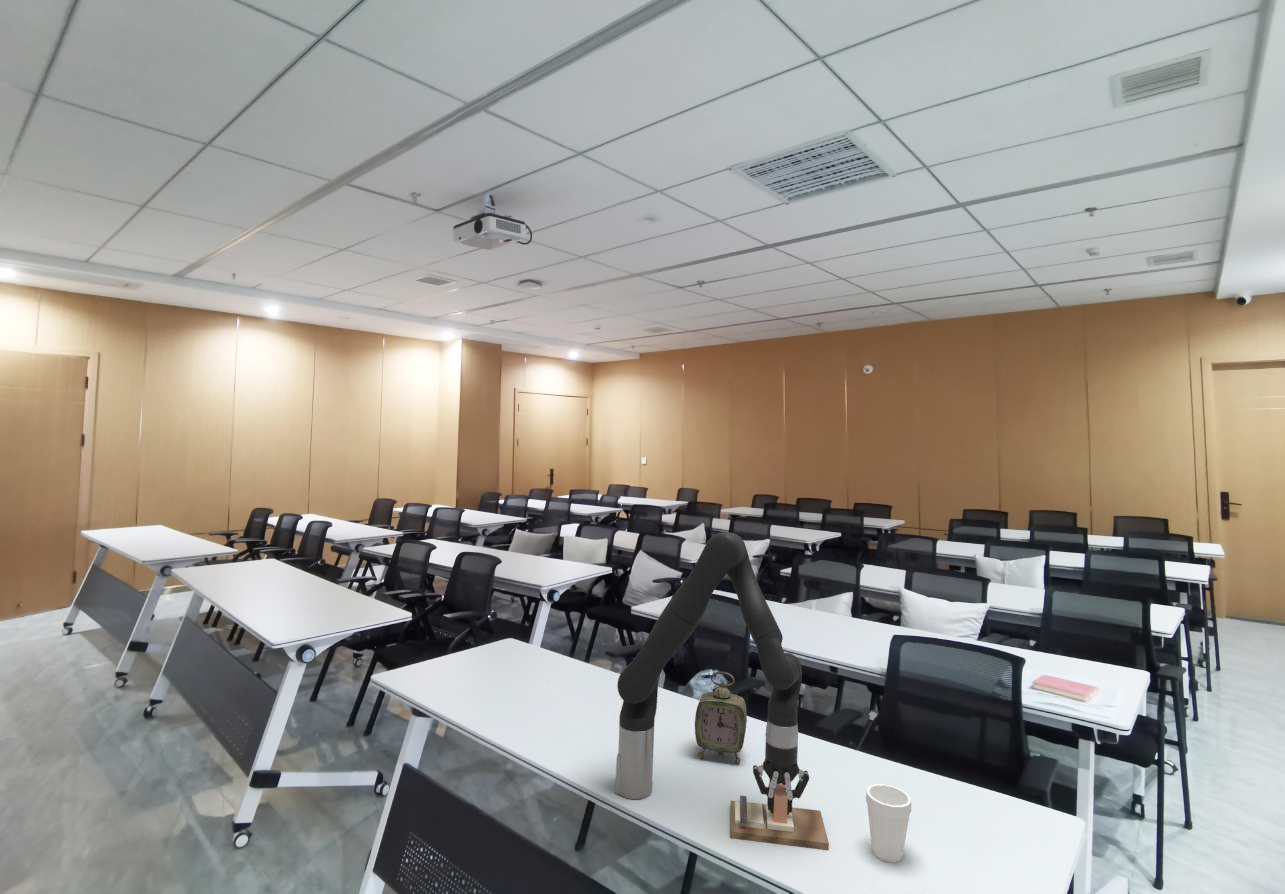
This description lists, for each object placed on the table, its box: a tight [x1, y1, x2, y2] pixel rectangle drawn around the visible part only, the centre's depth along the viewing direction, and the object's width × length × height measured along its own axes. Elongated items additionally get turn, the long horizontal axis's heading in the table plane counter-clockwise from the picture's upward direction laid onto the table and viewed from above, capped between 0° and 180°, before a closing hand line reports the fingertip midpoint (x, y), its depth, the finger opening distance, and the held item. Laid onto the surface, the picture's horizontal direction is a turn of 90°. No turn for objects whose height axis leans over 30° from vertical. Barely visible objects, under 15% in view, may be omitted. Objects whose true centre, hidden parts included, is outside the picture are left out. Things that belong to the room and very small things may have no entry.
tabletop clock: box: [694, 671, 748, 765], centre depth 180 cm, size 14×9×25 cm, turn 76°
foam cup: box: [865, 783, 912, 863], centre depth 138 cm, size 10×9×13 cm
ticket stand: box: [730, 795, 830, 851], centre depth 146 cm, size 22×13×4 cm, turn 82°
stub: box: [765, 784, 794, 832], centre depth 146 cm, size 6×8×7 cm
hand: (779, 811), depth 146 cm, fingers closed on stub, 3 cm apart
